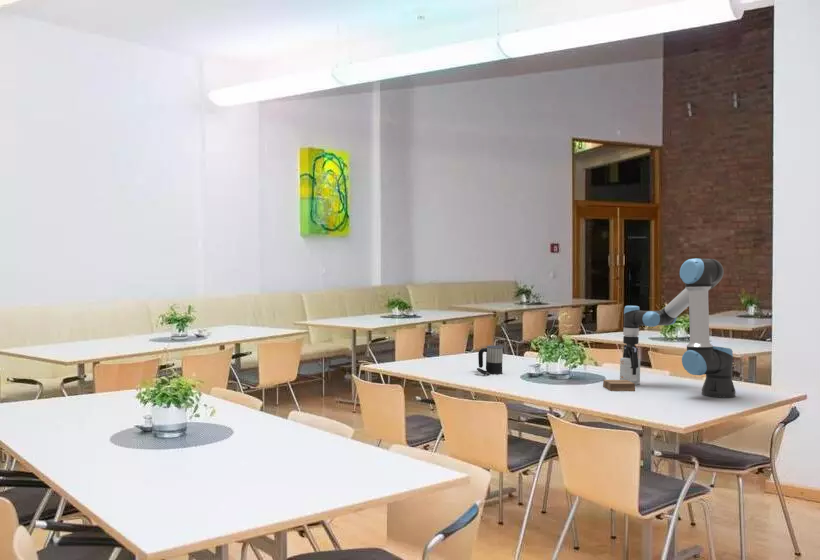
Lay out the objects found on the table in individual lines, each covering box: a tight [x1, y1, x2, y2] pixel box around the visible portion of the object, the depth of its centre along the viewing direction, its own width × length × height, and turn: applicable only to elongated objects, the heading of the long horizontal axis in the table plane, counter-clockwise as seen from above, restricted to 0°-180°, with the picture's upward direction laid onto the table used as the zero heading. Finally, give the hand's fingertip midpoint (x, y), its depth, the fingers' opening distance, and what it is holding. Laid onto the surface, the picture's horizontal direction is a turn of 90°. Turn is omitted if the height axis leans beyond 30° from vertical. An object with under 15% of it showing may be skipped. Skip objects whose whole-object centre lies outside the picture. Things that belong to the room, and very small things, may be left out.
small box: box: [619, 357, 641, 386], centre depth 419 cm, size 8×6×13 cm
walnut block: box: [602, 379, 636, 392], centre depth 402 cm, size 12×12×4 cm
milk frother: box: [476, 345, 504, 376], centre depth 445 cm, size 14×16×15 cm
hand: (629, 379), depth 419 cm, fingers closed on small box, 10 cm apart
